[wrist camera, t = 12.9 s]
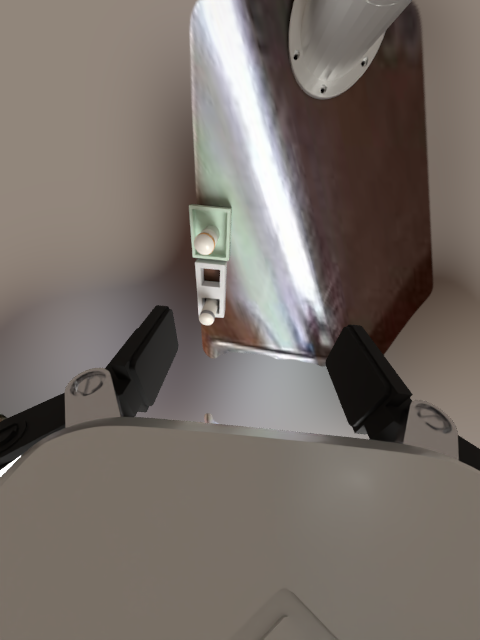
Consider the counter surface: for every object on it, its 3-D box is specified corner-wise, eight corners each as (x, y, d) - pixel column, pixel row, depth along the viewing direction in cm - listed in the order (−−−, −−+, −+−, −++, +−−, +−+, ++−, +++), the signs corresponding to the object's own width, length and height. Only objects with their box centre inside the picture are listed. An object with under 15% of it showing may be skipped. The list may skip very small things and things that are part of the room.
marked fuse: (202, 223, 40) (192, 233, 32) (220, 225, 40) (213, 234, 32) (203, 242, 42) (194, 254, 35) (220, 243, 42) (214, 255, 35)
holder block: (198, 257, 45) (195, 262, 42) (226, 260, 45) (225, 265, 42) (201, 309, 54) (198, 315, 51) (225, 311, 54) (223, 317, 51)
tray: (192, 204, 38) (188, 205, 36) (231, 207, 38) (230, 209, 36) (195, 253, 44) (192, 257, 42) (229, 257, 44) (228, 260, 42)
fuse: (206, 293, 51) (198, 312, 43) (219, 295, 51) (213, 313, 43) (206, 305, 53) (199, 324, 46) (219, 306, 53) (214, 326, 46)
